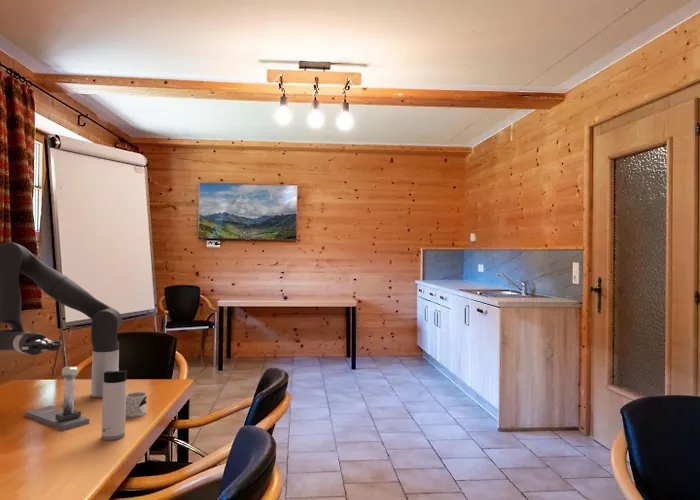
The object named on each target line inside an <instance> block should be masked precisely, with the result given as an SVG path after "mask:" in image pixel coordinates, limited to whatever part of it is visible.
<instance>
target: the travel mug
mask: <svg viewBox="0 0 700 500" xmlns="http://www.w3.org/2000/svg"><path fill="white" fill-rule="evenodd" d="M127 373H128V370H127V369H125V370H124V369H123V370H122V369H119V371H114V372H112V371H108V372H104V382H103V383H104V384H103V397H102V408H101V409H102V410H101V411H102V413H101V414H102V415H101V416H102V417H101V418H102V419H101V439H102V440H103V441H115V440H119V439H121V438H124V436H125V435H126V395H127V386H128V385H127V384H128V382H127V381H128V380H127V376H128V375H127Z"/></svg>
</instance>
